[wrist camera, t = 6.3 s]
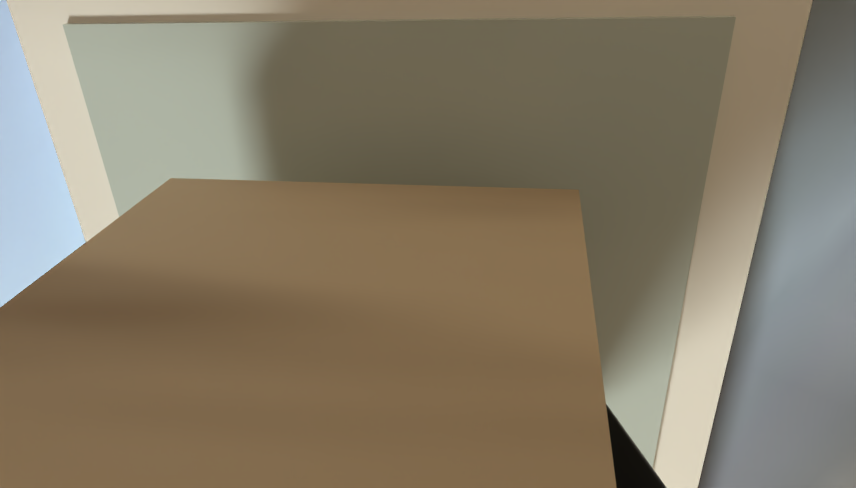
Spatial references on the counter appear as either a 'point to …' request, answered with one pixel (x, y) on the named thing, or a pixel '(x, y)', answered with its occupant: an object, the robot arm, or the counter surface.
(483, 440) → the cube
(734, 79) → the tile
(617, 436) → the robot arm
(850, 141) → the counter surface
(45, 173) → the counter surface
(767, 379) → the counter surface
